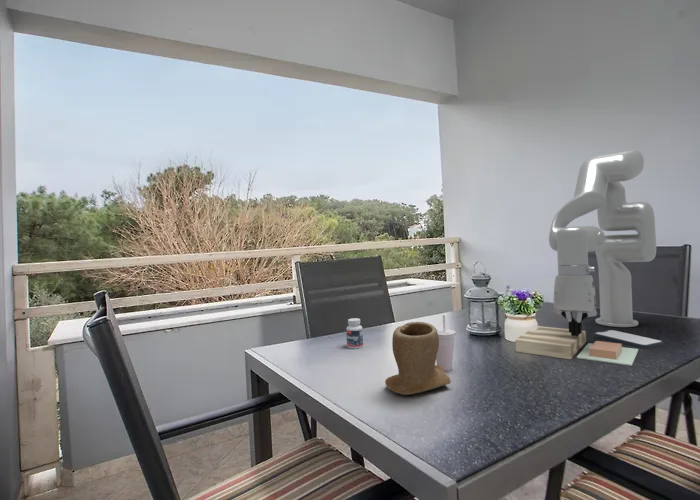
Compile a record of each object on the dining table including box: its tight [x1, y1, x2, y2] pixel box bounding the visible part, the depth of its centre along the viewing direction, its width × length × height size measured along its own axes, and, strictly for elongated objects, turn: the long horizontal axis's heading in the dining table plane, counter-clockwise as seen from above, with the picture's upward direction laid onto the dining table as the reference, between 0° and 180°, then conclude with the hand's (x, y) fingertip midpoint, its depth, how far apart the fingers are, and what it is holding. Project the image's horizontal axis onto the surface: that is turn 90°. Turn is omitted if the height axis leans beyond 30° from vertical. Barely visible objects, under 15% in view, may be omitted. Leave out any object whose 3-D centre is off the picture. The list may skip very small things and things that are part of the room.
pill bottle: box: [345, 317, 364, 349], centre depth 126 cm, size 5×5×9 cm
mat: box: [576, 342, 639, 367], centre depth 106 cm, size 16×12×1 cm
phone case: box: [593, 329, 664, 349], centre depth 117 cm, size 9×2×16 cm
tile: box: [589, 340, 623, 359], centre depth 105 cm, size 9×6×2 cm, turn 137°
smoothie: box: [435, 314, 457, 372], centre depth 100 cm, size 6×6×14 cm
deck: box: [515, 325, 587, 360], centre depth 115 cm, size 20×14×4 cm
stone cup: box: [384, 321, 452, 396], centre depth 88 cm, size 15×12×15 cm
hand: (575, 335), depth 110 cm, fingers closed
